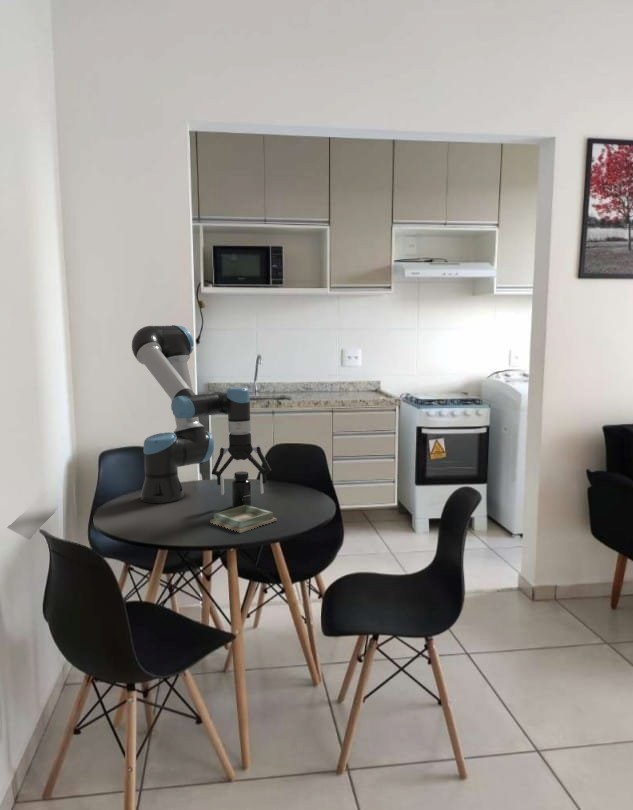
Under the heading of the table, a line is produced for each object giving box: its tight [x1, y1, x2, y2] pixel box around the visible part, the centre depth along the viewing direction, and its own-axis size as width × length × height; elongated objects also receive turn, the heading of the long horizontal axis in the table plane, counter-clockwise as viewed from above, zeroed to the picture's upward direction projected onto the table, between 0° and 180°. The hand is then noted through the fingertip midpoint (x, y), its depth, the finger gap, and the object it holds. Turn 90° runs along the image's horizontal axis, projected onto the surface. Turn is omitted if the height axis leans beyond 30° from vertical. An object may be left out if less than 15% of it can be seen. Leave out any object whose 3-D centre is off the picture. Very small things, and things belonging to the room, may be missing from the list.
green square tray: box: [209, 505, 278, 534], centre depth 197 cm, size 15×15×3 cm
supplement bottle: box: [231, 470, 253, 508], centre depth 214 cm, size 7×7×12 cm
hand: (242, 493), depth 214 cm, fingers open, 13 cm apart
